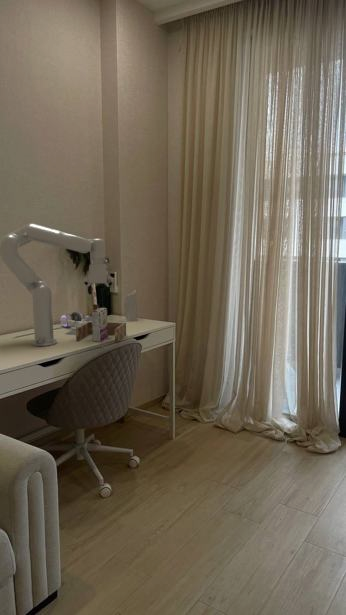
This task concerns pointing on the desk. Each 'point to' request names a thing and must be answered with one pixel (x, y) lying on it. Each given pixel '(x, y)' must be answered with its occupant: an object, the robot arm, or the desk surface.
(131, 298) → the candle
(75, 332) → the felt mat
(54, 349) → the desk surface
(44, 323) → the robot arm
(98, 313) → the candy bar box
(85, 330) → the brown bent panel
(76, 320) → the headphones
